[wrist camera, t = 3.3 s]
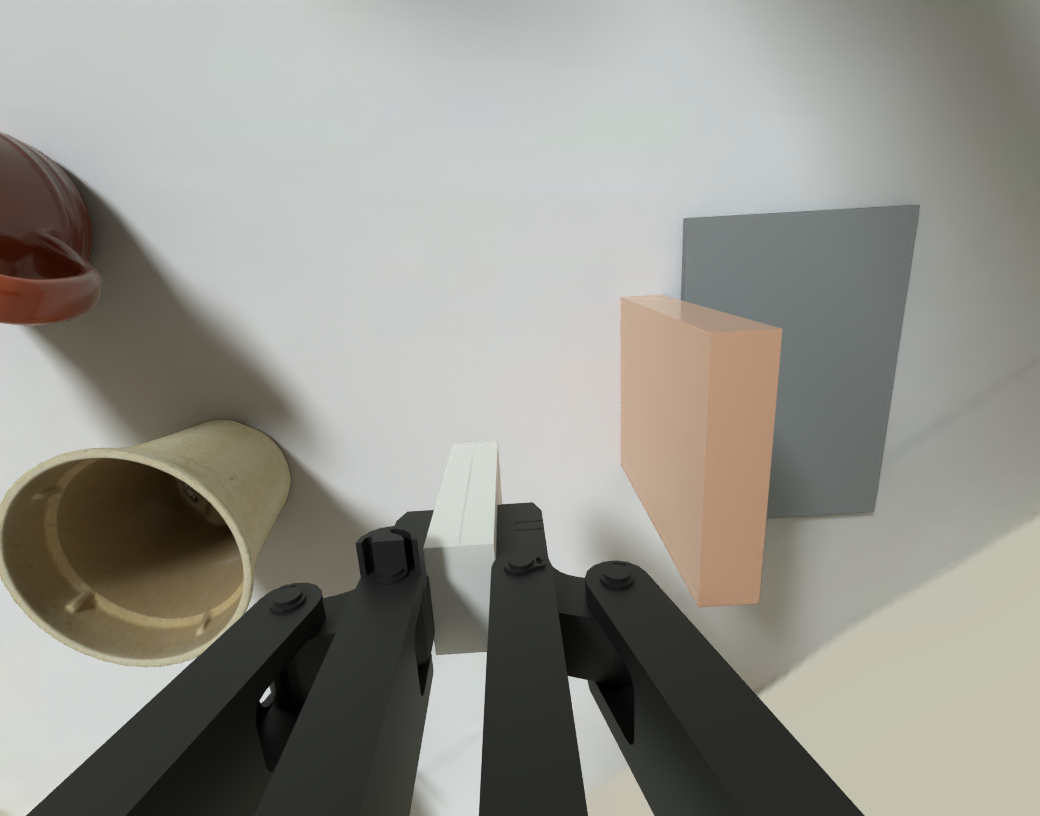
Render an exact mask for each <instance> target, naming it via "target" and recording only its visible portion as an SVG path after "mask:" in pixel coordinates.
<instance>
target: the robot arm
mask: <svg viewBox="0 0 1040 816" xmlns="http://www.w3.org/2000/svg"><path fill="white" fill-rule="evenodd" d="M356 548H357V555H358V561H359V567H360V574H361V578H360V580H359V582H358V585H357V587H356V589H354V590H352V591H349V592H346V593H343V594H339V595H335V596H331V597H328V598H324V599H323V596H322V591H321V589H320V588H319V587H318V586H317V585H314V584H310V583H293V584H290V585H285V586H282V587H280V588H278V589H276V590H274V591H271V592H270V593H268V594H267V595H265V596H264V597H263V598H261V599H260V600H259V601H258V602H257V603H256V604H255V605H253V606H252V607H251V608H250V609H249V610H248V611H247V612H246V613H245V614H244V615H243V616H242V617H240V618H239V619H238V620H237V621H236V622H235V623H234V624H233V625H232V626H231V627H230V628H229V629H227V630H226V631H225V632H224V633H223V634H222V635H221V636H220V637H219V638H218V639H217V640H216V641H215V642H213V643H212V644H211V645H210V646H209V647H208V648H207V649H206V650H205V651H204V652H203V653H202V654H200V655H199V656H198V657H197V658H196V659H195V660H194V661H193V662H192V663H191V664H190V665H189V666H187V667H186V668H185V669H184V670H183V671H182V672H181V673H180V674H179V675H178V676H177V677H176V678H175V679H173V680H172V681H171V682H170V683H169V684H168V685H167V686H166V687H165V688H164V689H163V690H162V691H160V692H159V693H158V694H157V695H156V696H155V697H154V698H153V699H152V700H151V701H150V702H149V703H147V704H146V705H145V706H144V707H143V708H142V709H141V710H140V711H139V712H138V713H137V714H136V715H135V716H133V717H132V718H131V719H130V720H129V721H128V722H127V723H126V724H125V725H124V726H123V727H122V728H120V729H119V730H118V731H117V732H116V733H115V734H114V735H113V736H112V737H111V738H110V739H109V740H107V741H106V742H105V743H104V744H103V745H102V746H101V747H100V748H99V749H98V750H97V751H96V752H94V753H93V754H92V755H91V756H90V757H89V758H88V759H87V760H86V761H85V762H84V763H83V764H82V765H80V766H79V767H78V768H77V769H76V770H75V771H74V772H73V773H72V774H71V775H70V776H69V777H67V778H66V779H65V780H64V781H63V782H62V783H61V784H60V785H59V786H58V787H57V788H56V789H54V790H53V791H52V792H51V793H50V794H49V795H48V796H47V797H46V798H45V799H44V800H43V801H42V802H40V803H39V804H38V805H37V806H36V807H35V808H34V809H33V810H32V811H31V812H30V813H29V814H27V815H26V816H409V814H410V808H411V802H412V796H413V790H414V784H415V778H416V772H417V766H418V760H419V754H420V749H421V743H422V737H423V731H424V725H425V719H426V713H427V707H428V701H429V695H430V689H431V683H432V677H433V663H432V655H431V651H432V645H433V640H434V642H435V651H436V655H444V654H459V653H474V652H487V664H486V684H485V704H484V725H483V745H482V766H481V786H480V806H479V816H588V812H587V806H586V799H585V792H584V785H583V778H582V771H581V765H580V758H579V751H578V744H577V737H576V730H575V724H574V717H573V710H572V703H571V696H570V689H569V682H568V676H571V677H576V678H581V679H586V680H588V684H589V688H590V691H591V693H592V695H593V697H594V699H595V701H596V703H597V705H598V707H599V709H600V711H601V713H602V715H603V717H604V719H605V720H606V722H607V724H608V726H609V728H610V730H611V732H612V734H613V736H614V738H615V740H616V742H617V744H618V746H619V748H620V750H621V752H622V753H623V755H624V757H625V759H626V761H627V763H628V765H629V767H630V769H631V771H632V773H633V775H634V777H635V779H636V781H637V783H638V785H639V786H640V788H641V790H642V792H643V794H644V796H645V798H646V800H647V802H648V804H649V805H650V808H651V810H652V812H653V814H654V815H655V816H864V815H863V813H862V812H861V811H860V810H859V809H858V808H857V807H856V806H855V805H854V804H853V802H852V801H851V800H850V799H849V798H848V797H847V796H846V795H845V793H844V792H843V791H842V790H841V789H840V788H839V787H838V786H837V784H836V783H835V782H834V781H833V780H832V779H831V778H830V777H829V776H828V774H827V773H826V772H825V771H824V770H823V769H822V768H821V767H820V766H819V764H818V763H817V762H816V761H815V760H814V759H813V758H812V757H811V756H810V754H809V753H808V752H807V751H806V750H805V749H804V748H803V747H802V745H800V743H799V742H798V741H797V740H796V739H795V738H794V737H793V736H792V734H791V733H790V732H789V731H788V730H787V729H786V728H785V727H784V725H783V724H782V723H781V722H780V721H779V720H778V719H777V718H776V717H775V715H774V714H773V713H772V712H771V711H770V710H769V709H768V708H767V706H766V705H765V704H764V703H763V702H762V701H761V700H760V699H759V697H758V696H757V695H756V694H755V693H754V692H753V691H752V690H751V689H750V687H749V686H748V685H747V684H746V683H745V682H744V681H743V680H742V679H741V677H740V676H739V675H738V674H737V673H736V672H735V671H734V670H733V668H732V667H731V666H730V665H729V664H728V663H727V662H726V661H725V660H724V658H723V657H722V656H721V655H720V654H719V653H718V652H717V651H716V650H715V648H714V647H713V646H712V645H711V644H710V643H709V642H708V641H707V640H706V638H705V637H704V636H703V635H702V634H701V633H700V632H699V631H698V629H697V628H696V627H695V626H694V625H693V624H692V623H691V622H690V621H689V619H688V618H687V617H686V616H685V615H684V614H683V613H682V612H681V611H680V609H679V608H678V607H677V606H676V605H675V604H674V603H673V602H672V600H671V599H670V598H669V597H668V596H667V595H666V594H665V593H664V592H663V590H662V589H661V588H660V587H659V586H658V585H657V584H656V583H655V582H654V580H653V579H652V578H651V577H650V576H649V575H648V574H647V573H646V572H645V571H644V570H643V569H641V568H640V567H639V566H636V565H634V564H631V563H628V562H623V561H607V562H602V563H599V564H596V565H594V566H593V567H591V568H590V569H589V570H588V571H587V573H586V576H585V578H581V577H575V576H570V575H567V574H564V573H562V572H559V571H558V570H556V569H555V568H554V567H553V566H552V565H551V563H550V561H549V559H548V553H547V546H546V539H545V532H544V525H543V518H542V512H541V510H540V509H539V508H538V507H537V506H536V505H535V504H534V503H533V502H532V503H517V504H502V496H501V482H500V468H499V454H498V441H496V442H480V443H464V444H452V448H451V451H450V455H449V459H448V462H447V466H446V469H445V473H444V476H443V480H442V483H441V487H440V491H439V494H438V498H437V501H436V505H435V508H434V510H428V511H412V512H407V513H406V514H404V515H403V516H402V517H401V518H400V519H398V520H397V521H396V524H395V526H391V527H385V528H380V529H377V530H374V531H371V532H369V533H367V534H365V535H364V536H362V537H361V538H360V539H359V540H358V541H357V542H356ZM269 686H270V690H271V693H270V695H269V696H268V697H267V698H266V700H265V701H263V702H262V703H260V701H259V700H260V699H261V697H262V695H263V694H264V692H265V691H266V689H267V688H268V687H269Z"/></svg>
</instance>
